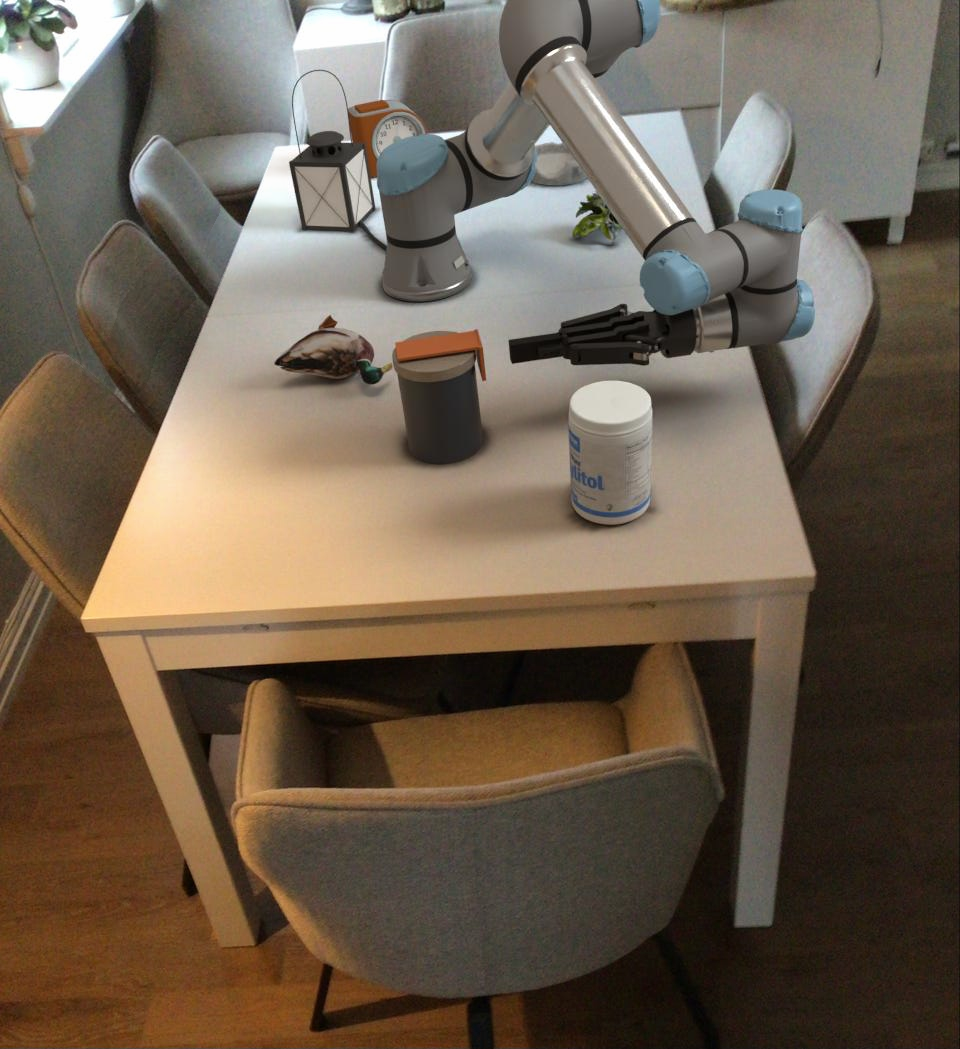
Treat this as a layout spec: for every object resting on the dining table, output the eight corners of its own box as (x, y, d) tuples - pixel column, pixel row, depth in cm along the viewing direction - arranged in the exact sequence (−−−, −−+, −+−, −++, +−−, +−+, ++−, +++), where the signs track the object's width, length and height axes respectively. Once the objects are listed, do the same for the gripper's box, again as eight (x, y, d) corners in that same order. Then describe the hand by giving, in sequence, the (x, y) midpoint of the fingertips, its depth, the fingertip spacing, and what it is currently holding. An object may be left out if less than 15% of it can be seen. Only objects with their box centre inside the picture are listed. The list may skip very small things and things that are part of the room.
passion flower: (612, 256, 199) (648, 197, 195) (621, 270, 189) (659, 208, 185) (560, 226, 196) (595, 165, 192) (566, 238, 187) (603, 175, 182)
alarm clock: (365, 180, 227) (355, 114, 219) (354, 168, 234) (344, 104, 226) (431, 165, 231) (424, 100, 223) (419, 153, 237) (411, 90, 229)
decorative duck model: (397, 351, 153) (297, 380, 148) (400, 395, 158) (304, 424, 153) (356, 304, 163) (262, 329, 158) (361, 346, 168) (269, 372, 163)
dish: (595, 185, 213) (594, 160, 210) (525, 191, 214) (523, 166, 211) (590, 159, 224) (589, 135, 221) (524, 165, 225) (522, 141, 222)
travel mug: (479, 416, 149) (469, 324, 141) (490, 458, 141) (480, 363, 132) (403, 428, 149) (389, 336, 140) (410, 470, 140) (395, 376, 132)
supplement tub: (556, 510, 131) (549, 407, 122) (601, 472, 136) (598, 370, 127) (622, 538, 125) (620, 432, 117) (667, 497, 131) (668, 393, 122)
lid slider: (480, 361, 141) (477, 328, 138) (486, 380, 137) (482, 347, 134) (399, 374, 141) (394, 341, 138) (402, 393, 137) (397, 359, 134)
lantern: (376, 209, 214) (353, 61, 197) (354, 232, 206) (328, 79, 189) (325, 208, 217) (298, 61, 200) (301, 230, 209) (271, 79, 192)
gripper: (704, 375, 136) (520, 402, 135) (676, 328, 147) (504, 353, 146) (706, 321, 132) (515, 349, 131) (677, 277, 142) (500, 303, 141)
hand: (510, 351), depth 138 cm, fingers closed
